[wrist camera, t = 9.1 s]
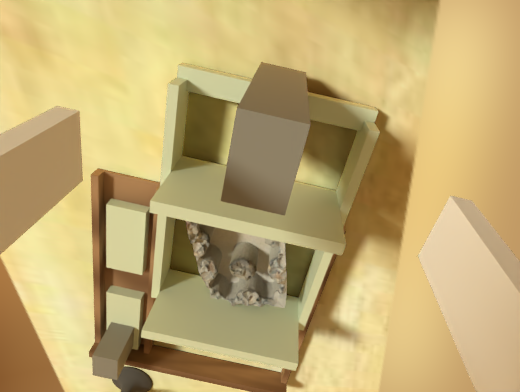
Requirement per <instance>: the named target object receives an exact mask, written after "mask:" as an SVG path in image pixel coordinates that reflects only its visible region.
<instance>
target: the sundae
mask: <svg viewBox="0 0 520 392" xmlns="http://www.w3.org/2000/svg"><path fill="white" fill-rule="evenodd" d="M112 381H113V383H114V384H115V385H116V387H118V388H119V389H121V392H147V391H149V390H150V389H151V387H152V382H151V379H150V378H149V376H148V375H147V374H146V373H144V372H143V371H141V370H139V369H136V368H132V367H123V369H122V371H121V373H120V375H119V377H118V380H114V379H112Z"/></svg>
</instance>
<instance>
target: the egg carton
mask: <svg viewBox="0 0 520 392" xmlns="http://www.w3.org/2000/svg"><path fill="white" fill-rule="evenodd" d="M186 229H187V231H188V237H189V240H190V243H191V244H193V250H194V256H196V261H197V265H198V271H199V273H200V275H201V277H202V279H203V281H204V282H205V284H206V287H207V288H208V289H209V290H210V297H211V298H216V299H220V298H221V299H224V300H228V301H229V302H230V303H231V305H232V306H235V305H238V304H244V305H247V306H250V305H254V306H259V307H262V306H264V305H266V304H268V305H271V306H274V307H280V308H285V305H286V295H287V271H286V252H285V243H283V242H279V241H274V240H270V239H266V238H261V237H257V236H252V235H248V234H243V233H239V232H234V231H230V230H225V229H221V228H216V227H212V226H207V225H203V224H198V223H194V222H190V221H186Z"/></svg>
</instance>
